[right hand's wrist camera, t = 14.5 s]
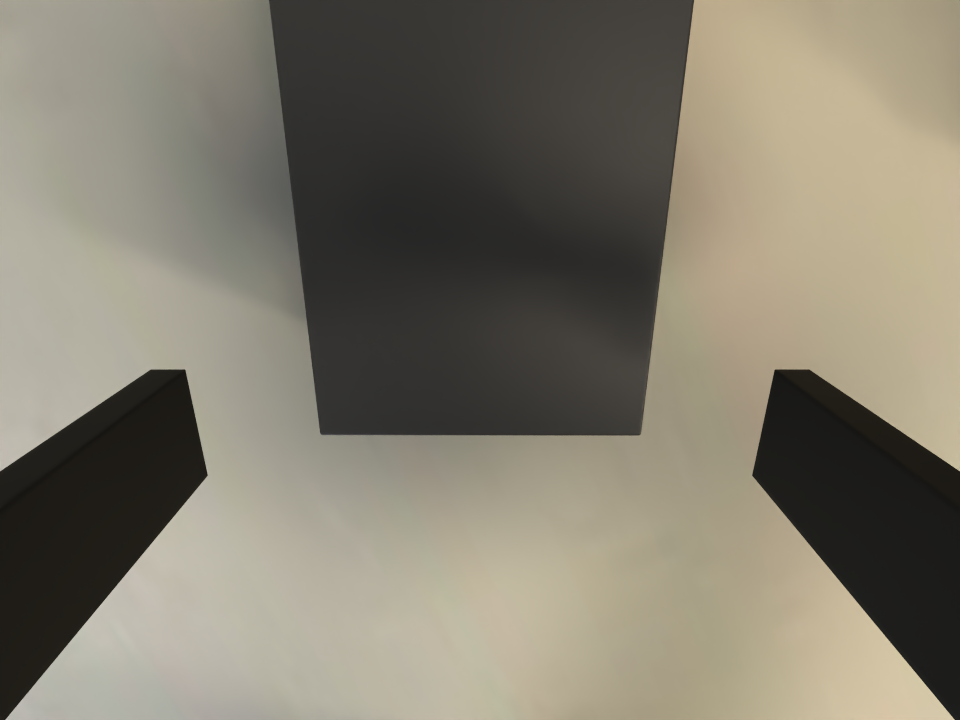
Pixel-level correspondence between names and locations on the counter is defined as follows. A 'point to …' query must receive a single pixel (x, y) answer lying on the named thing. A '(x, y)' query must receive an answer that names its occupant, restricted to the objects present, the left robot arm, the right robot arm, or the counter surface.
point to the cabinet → (481, 207)
